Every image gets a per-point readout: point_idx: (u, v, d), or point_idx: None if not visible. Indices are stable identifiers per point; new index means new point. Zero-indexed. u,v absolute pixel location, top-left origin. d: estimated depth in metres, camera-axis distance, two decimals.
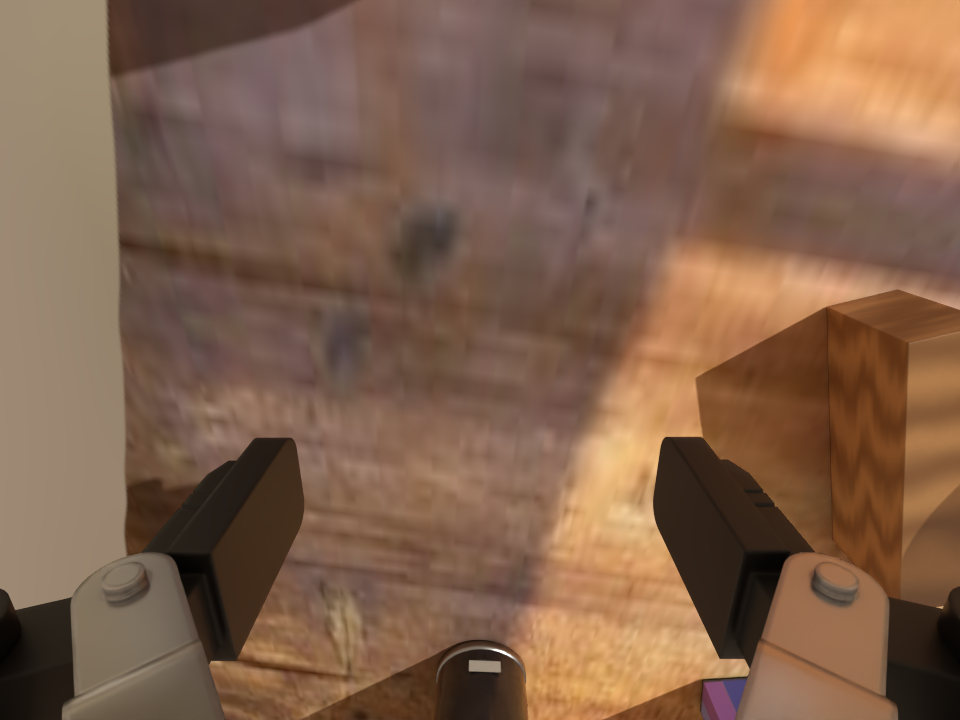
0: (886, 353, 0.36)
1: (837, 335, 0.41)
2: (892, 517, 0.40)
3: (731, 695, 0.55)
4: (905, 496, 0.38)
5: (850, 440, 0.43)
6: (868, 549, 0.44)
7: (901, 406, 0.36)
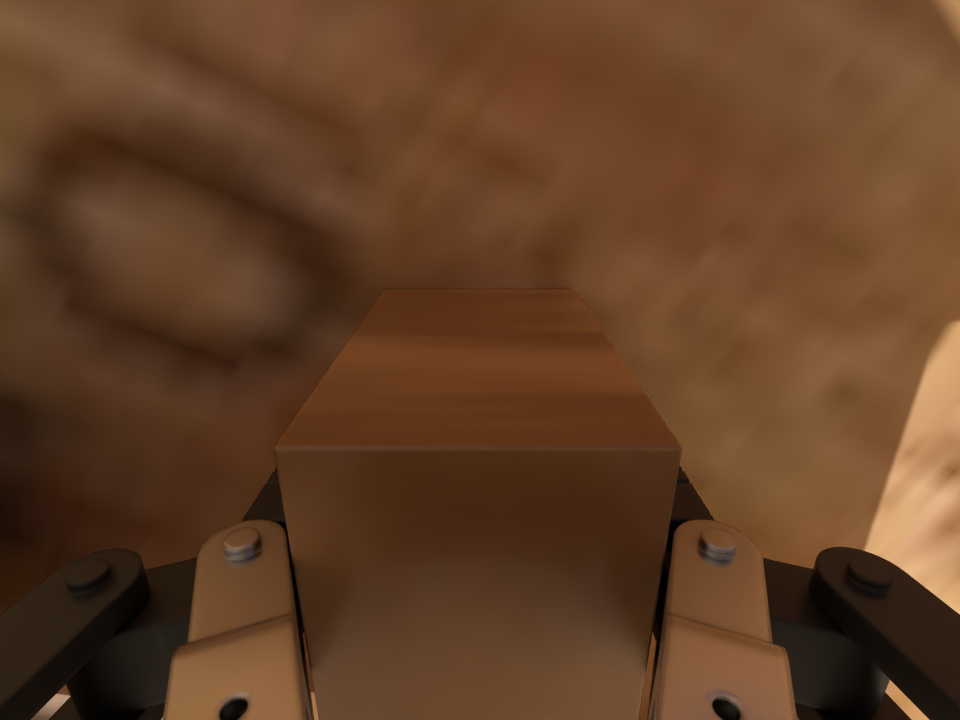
0: None
1: None
2: None
3: None
4: None
5: None
6: None
7: None
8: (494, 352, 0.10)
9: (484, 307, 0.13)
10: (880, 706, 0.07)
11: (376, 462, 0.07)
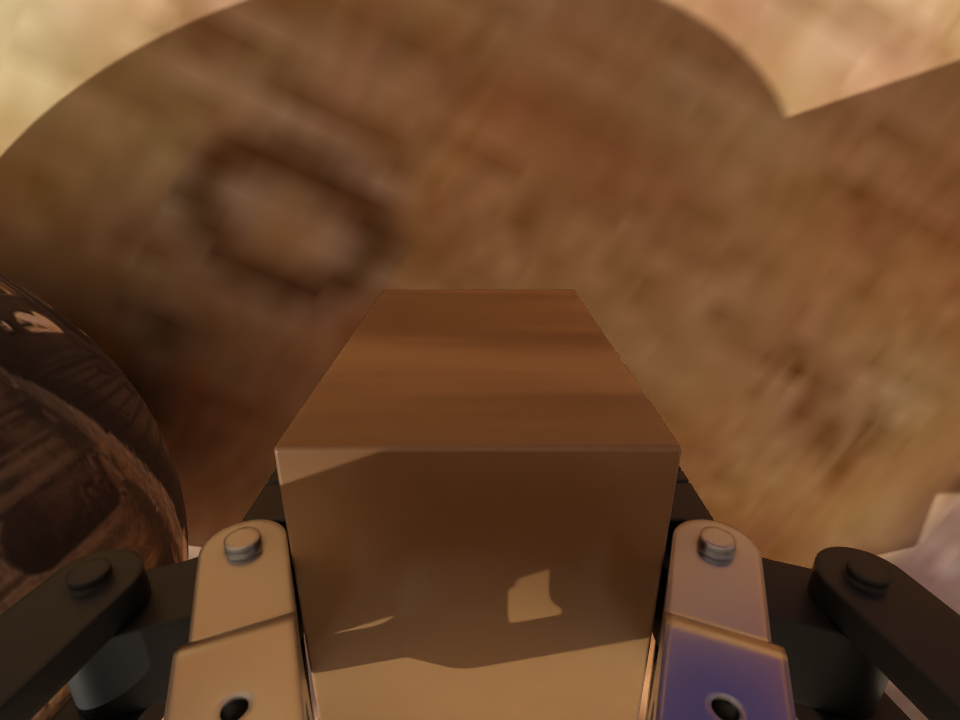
0: None
1: None
2: None
3: None
4: None
5: None
6: None
7: None
8: (494, 352, 0.10)
9: (484, 307, 0.13)
10: (879, 705, 0.08)
11: (375, 463, 0.07)
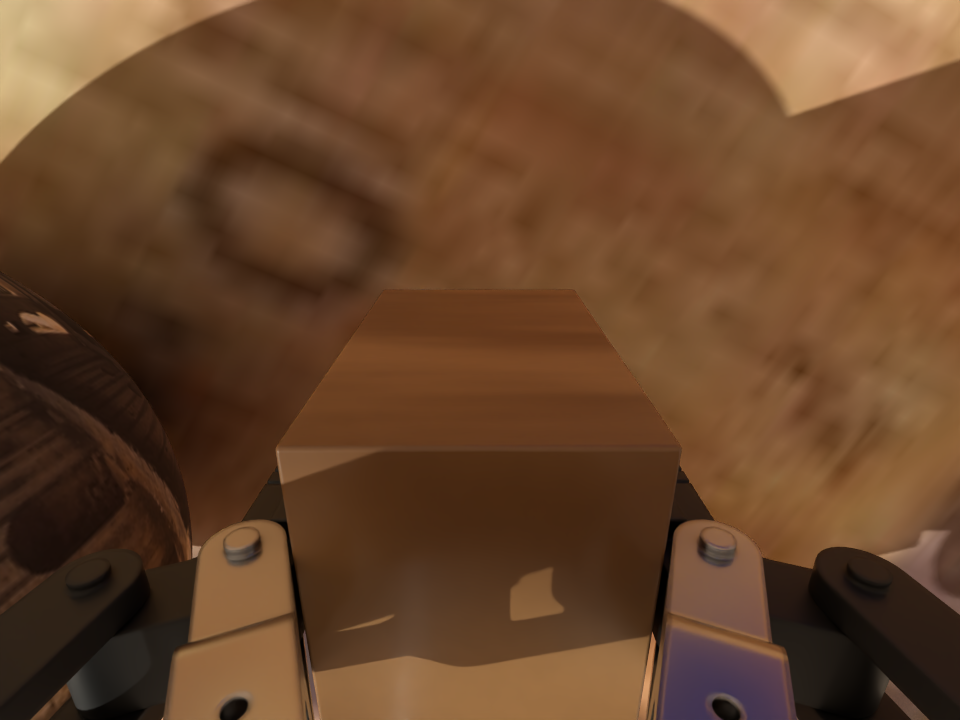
0: None
1: None
2: None
3: None
4: None
5: None
6: None
7: None
8: (494, 352, 0.10)
9: (484, 307, 0.13)
10: (879, 705, 0.07)
11: (377, 463, 0.07)
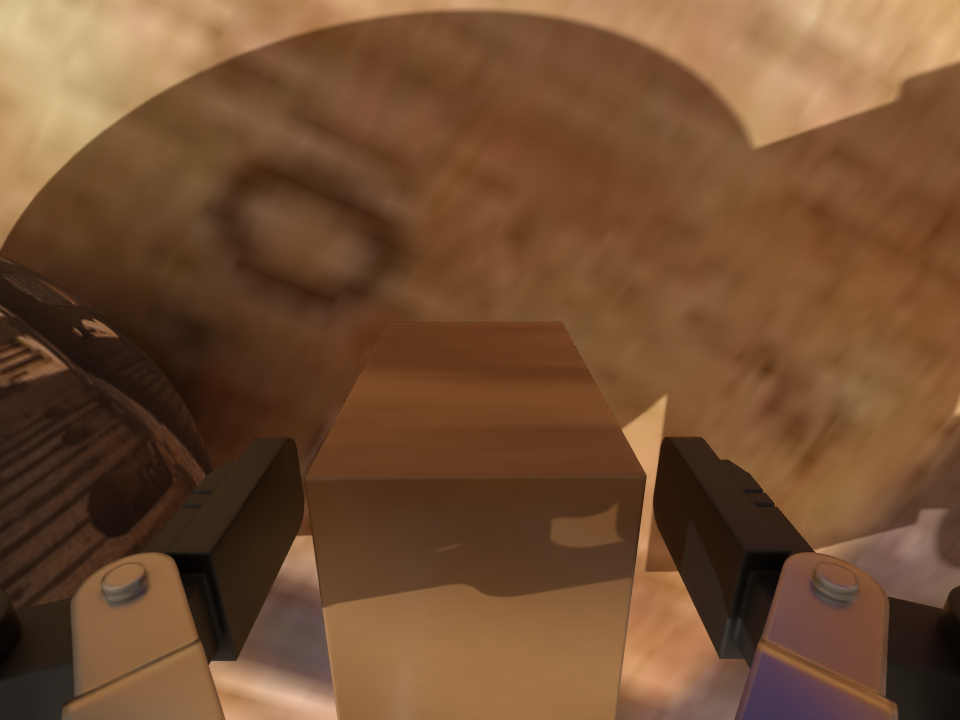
0: None
1: None
2: None
3: None
4: None
5: None
6: None
7: None
8: (489, 387, 0.11)
9: (480, 341, 0.14)
10: None
11: (390, 489, 0.08)
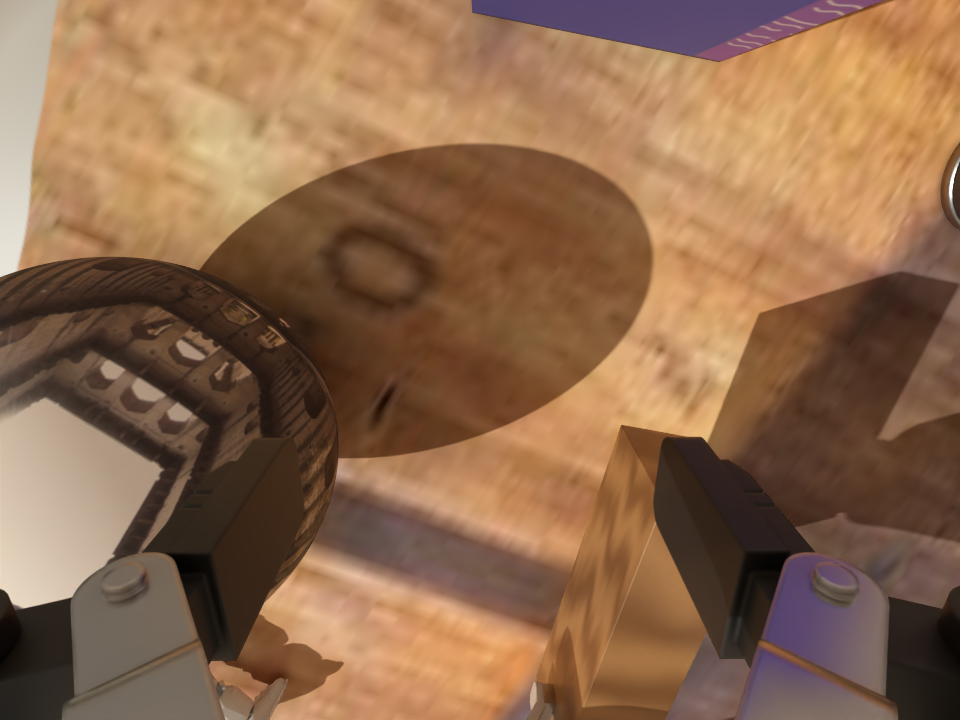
0: None
1: None
2: None
3: (697, 50, 0.35)
4: (683, 676, 0.32)
5: None
6: None
7: None
8: None
9: None
10: None
11: None
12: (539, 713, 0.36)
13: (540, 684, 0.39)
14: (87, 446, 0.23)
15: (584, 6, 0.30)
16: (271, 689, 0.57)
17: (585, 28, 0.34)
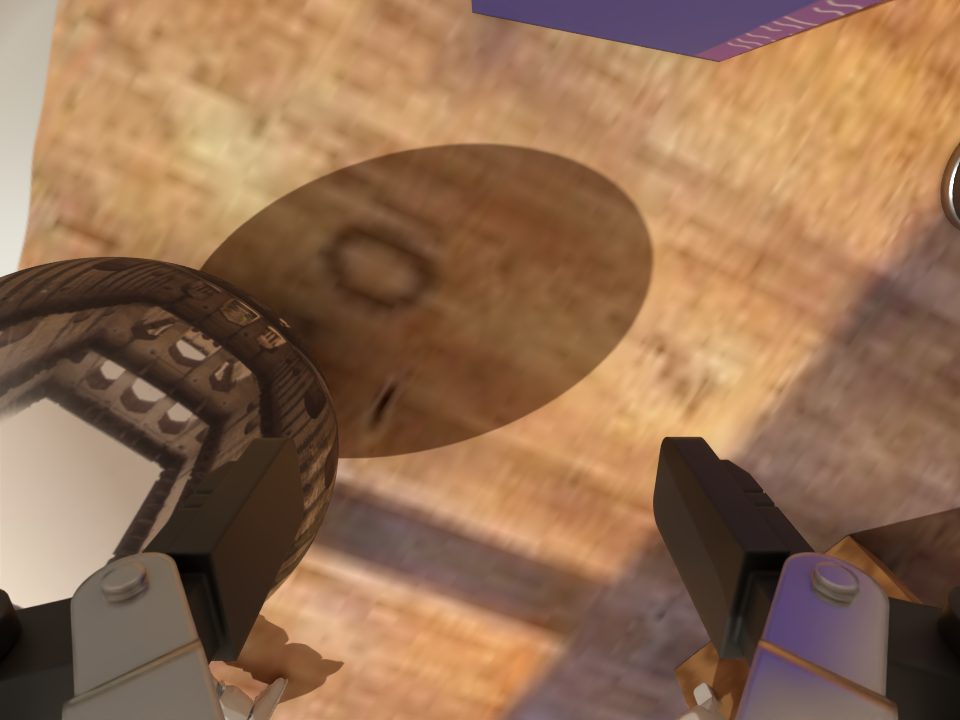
0: None
1: None
2: None
3: (697, 50, 0.35)
4: None
5: None
6: None
7: None
8: (904, 588, 0.48)
9: (879, 562, 0.51)
10: None
11: None
12: (717, 706, 0.50)
13: (709, 686, 0.52)
14: (87, 446, 0.23)
15: (584, 6, 0.30)
16: (271, 689, 0.57)
17: (585, 28, 0.34)
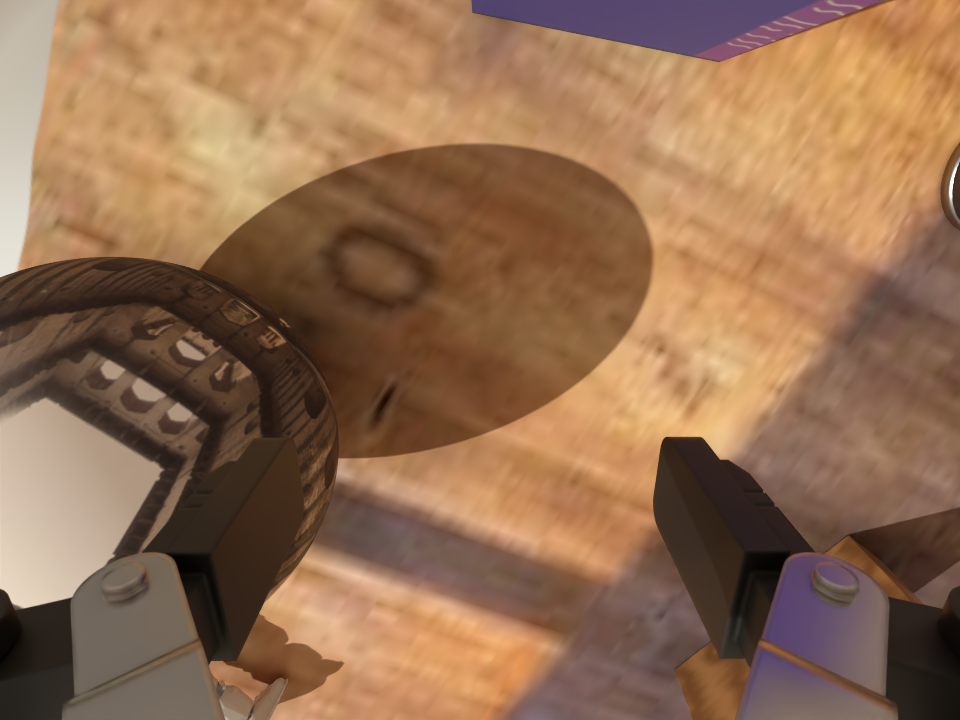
0: None
1: None
2: None
3: (697, 50, 0.35)
4: None
5: None
6: None
7: None
8: (904, 588, 0.48)
9: (879, 562, 0.51)
10: None
11: None
12: None
13: None
14: (87, 446, 0.23)
15: (584, 6, 0.30)
16: (271, 689, 0.57)
17: (585, 28, 0.34)
